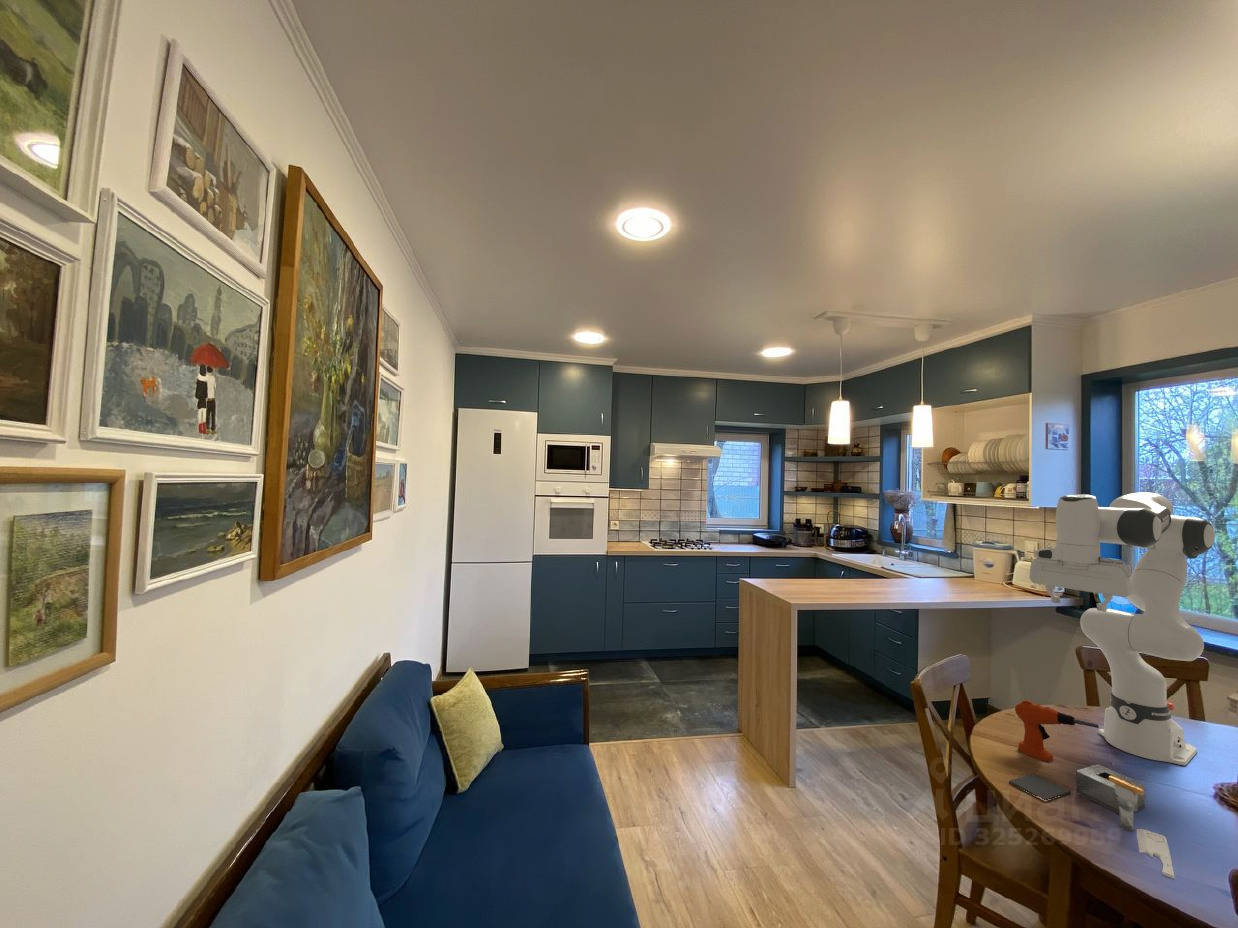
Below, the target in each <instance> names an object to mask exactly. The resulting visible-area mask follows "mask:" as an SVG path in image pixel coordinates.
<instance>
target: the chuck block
mask: <svg viewBox="0 0 1238 928" xmlns="http://www.w3.org/2000/svg"><path fill="white" fill-rule="evenodd" d="M1075 775H1076V776H1075V779H1076V780H1075V782H1076V785H1075V786H1076V794H1077V795H1079V796H1081V797H1083V798H1085V799H1087V800H1090V801H1091V802H1094V803H1095V804H1098V805H1099V806H1101V807H1104V808H1105V809H1108V810H1110V811H1112V812H1114V813H1116V814H1117V815H1120V814H1119V806H1118V805H1117V804H1116V803H1115V783H1112V782H1110V781H1109V776H1113V777H1116V778H1118V779H1120V780H1122V781H1125V782H1127V783H1129V784H1132V785H1134V786H1136V787H1138V788H1141V789H1143V790H1144V795H1139V794H1138V810H1137V811H1133V813H1135V812H1139V811H1140V810H1143V809H1146V784H1145V783H1143V782H1140V781H1138V780H1136V779H1133V778H1131V777H1129V776H1126V775H1123V774H1122V773H1120V772H1117V771H1115V770H1113V769H1110V768H1107V767H1105V766H1103V765H1102V764H1098V763H1097V764H1093V765H1090V766H1087V767H1084V768H1081V769H1077V770H1076V771H1075Z"/></svg>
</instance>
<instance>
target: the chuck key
mask: <svg viewBox="0 0 1238 928" xmlns="http://www.w3.org/2000/svg"><path fill="white" fill-rule="evenodd" d="M1109 781H1110V782H1112V783H1115V803H1116V804H1117V805H1118V806H1119V814H1118V815H1119V827H1120V829H1122V830H1124V831H1126V832H1130V833H1132V832H1134V831H1135V828H1134V824H1135V823H1134V812H1133V811H1136V812H1138V811H1139V810H1138V794H1139V795H1144V790H1143V789H1141V788H1138V787H1136V786H1134V785H1132V784H1129V783H1127V782H1125V781H1122V780H1120V779H1118V778H1116V777H1113V776H1109ZM1137 810H1138V811H1137Z"/></svg>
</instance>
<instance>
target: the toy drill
mask: <svg viewBox="0 0 1238 928" xmlns="http://www.w3.org/2000/svg"><path fill="white" fill-rule="evenodd" d="M1014 712H1015V714H1016V715H1017V717H1018V718H1019V719H1020V720H1021V721H1023V722H1022V723H1023V727H1024V737H1023V740H1022V741H1019V742H1018V750H1019V752H1021V753H1023V754H1024V755H1027V756H1030V757H1031V758H1032V757H1033V758H1035V759H1038V760H1040V761H1045V762H1053V760H1054V755H1053V753H1052V752H1050V751H1049V750H1048V749H1046V748H1045V746H1044V740H1047V739H1049V738H1051V737H1050V736H1051V735H1049V734H1048V732H1047V731H1046V728H1045V727H1044V725H1068V726H1075V725H1076V724H1077V725H1079V726H1080V725H1081V726H1085V727H1091V728H1096V729H1100V726H1099V724H1097V723H1093V722H1088V721H1084V720H1080V719H1075V717H1074V716H1072V715H1068V714H1066V713H1063V712H1061V711H1059V710H1055V709H1054V708H1052V707H1049V706H1046V707H1045V706H1043V705H1041V704H1036V703H1033V702H1032V701H1030V700H1028V699H1026V700H1023V701H1021V702H1019V703H1017V704H1016V705H1015V707H1014Z"/></svg>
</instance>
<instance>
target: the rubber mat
mask: <svg viewBox="0 0 1238 928" xmlns="http://www.w3.org/2000/svg"><path fill="white" fill-rule="evenodd" d="M1008 784H1010V785H1012V786H1014V787H1016V786H1017V787H1016V788H1018V787H1019V788H1021V789H1023V790H1025V791H1027V792H1029V793H1031V794H1033V795H1035V796H1039V797H1041V798H1042V799H1044V800H1048V799H1053V798H1055V797H1058V796H1061V797H1063V796H1066V795H1069V794H1070V795H1071V790H1069V788H1068V789H1067V788H1066V787H1063V786H1062V785H1059V784H1057V783H1056V782H1053V781H1052V780H1049V779H1047V778H1045V777H1043V776H1041V775H1038V774H1037V773H1034V772H1032V773H1029V774H1026V775H1022V776H1020V777H1017V778H1014V779H1009V780H1008ZM1019 788H1018V789H1019ZM1021 789H1020V790H1021ZM1023 790H1022V791H1023ZM1025 791H1024V792H1025ZM1027 792H1026V793H1027ZM1029 793H1028V794H1029ZM1031 794H1030V795H1031ZM1033 795H1032V796H1033ZM1053 800H1054V799H1053Z"/></svg>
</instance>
